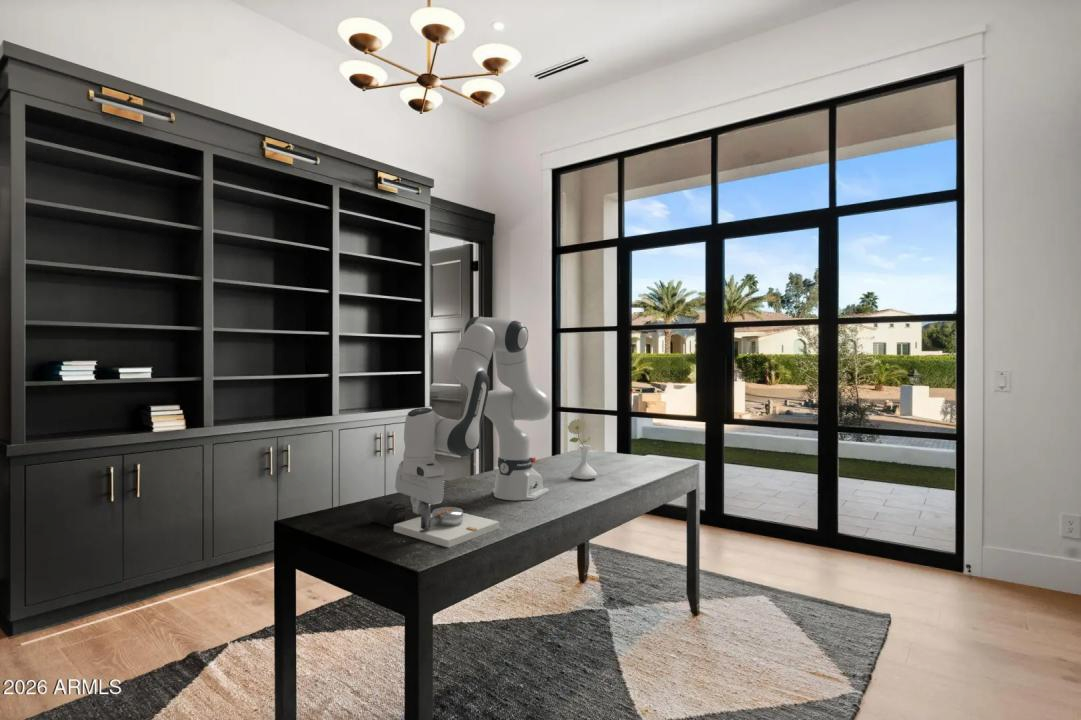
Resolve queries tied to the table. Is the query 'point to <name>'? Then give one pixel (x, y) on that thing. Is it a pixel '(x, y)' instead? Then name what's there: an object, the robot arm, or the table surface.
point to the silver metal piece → (440, 516)
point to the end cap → (385, 513)
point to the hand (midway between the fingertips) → (417, 513)
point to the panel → (448, 530)
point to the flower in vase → (583, 468)
